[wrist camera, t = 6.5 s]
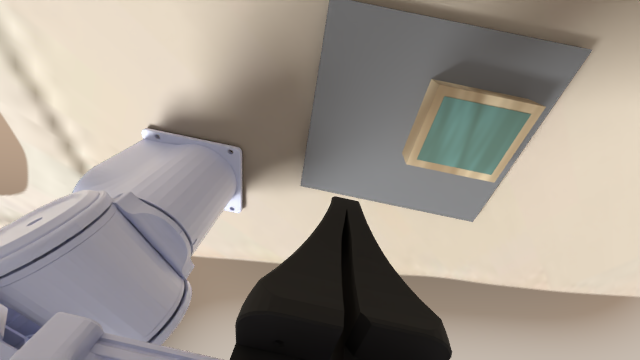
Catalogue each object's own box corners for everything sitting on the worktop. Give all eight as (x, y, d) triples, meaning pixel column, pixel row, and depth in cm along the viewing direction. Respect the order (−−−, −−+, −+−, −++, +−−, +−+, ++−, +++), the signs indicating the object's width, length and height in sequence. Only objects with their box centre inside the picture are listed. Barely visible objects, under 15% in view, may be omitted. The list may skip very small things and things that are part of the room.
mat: (301, 181, 25) (300, 185, 24) (330, -3, 16) (330, -4, 16) (469, 216, 25) (472, 221, 24) (582, 48, 16) (592, 49, 16)
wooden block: (406, 164, 19) (494, 183, 19) (439, 85, 16) (546, 107, 16) (401, 153, 21) (483, 169, 21) (431, 78, 18) (527, 98, 18)
